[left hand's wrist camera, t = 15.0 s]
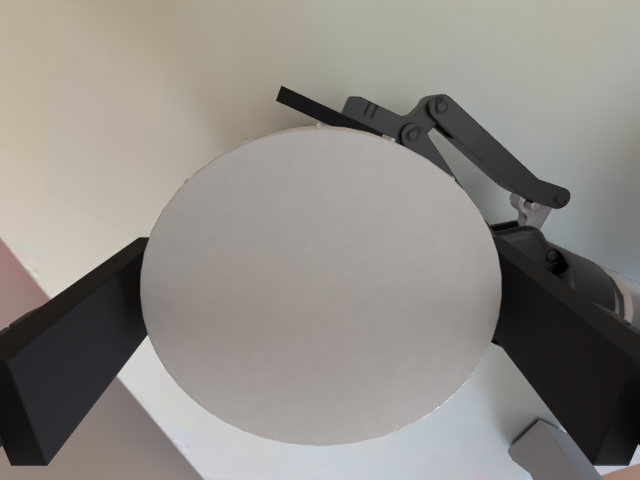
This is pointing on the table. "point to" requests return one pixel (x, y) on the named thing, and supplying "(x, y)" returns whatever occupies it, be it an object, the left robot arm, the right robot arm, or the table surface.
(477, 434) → the table surface
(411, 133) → the right robot arm
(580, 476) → the vintage mobile phone
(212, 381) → the lid
